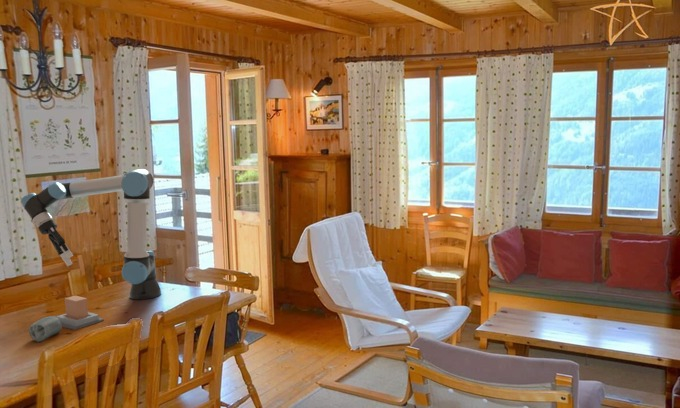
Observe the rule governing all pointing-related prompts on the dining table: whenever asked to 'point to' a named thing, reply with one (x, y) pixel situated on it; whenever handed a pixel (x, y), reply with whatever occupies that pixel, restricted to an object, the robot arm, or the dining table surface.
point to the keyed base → (79, 321)
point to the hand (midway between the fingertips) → (70, 261)
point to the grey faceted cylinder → (45, 328)
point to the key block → (76, 307)
